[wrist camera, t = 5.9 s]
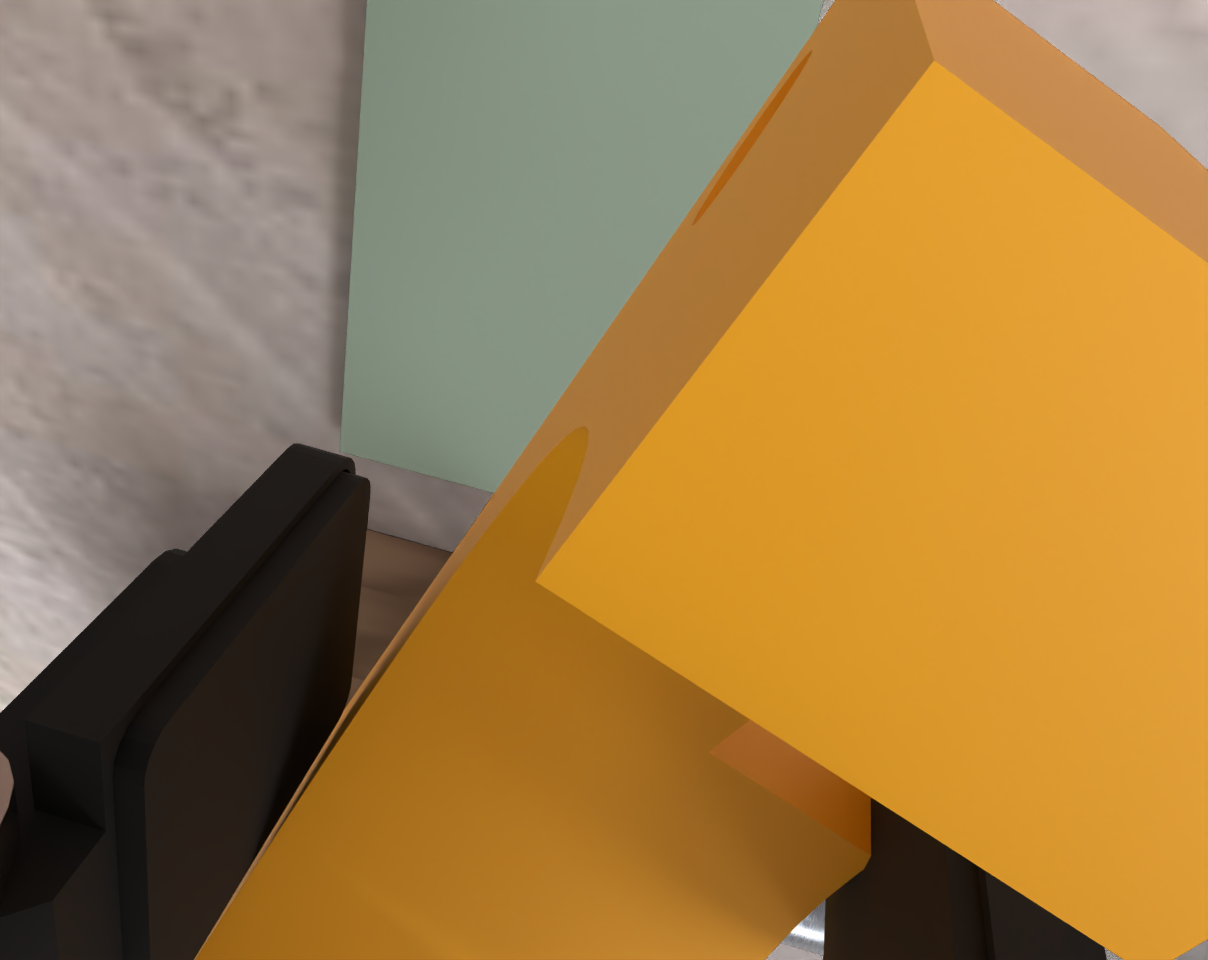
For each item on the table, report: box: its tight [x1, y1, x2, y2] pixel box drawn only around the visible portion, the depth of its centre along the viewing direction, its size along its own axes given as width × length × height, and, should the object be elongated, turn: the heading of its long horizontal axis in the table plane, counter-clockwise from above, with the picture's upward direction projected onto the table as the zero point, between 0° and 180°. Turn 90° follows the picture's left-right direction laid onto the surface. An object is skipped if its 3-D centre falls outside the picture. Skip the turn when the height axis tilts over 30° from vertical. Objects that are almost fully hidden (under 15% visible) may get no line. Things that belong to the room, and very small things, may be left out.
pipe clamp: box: [194, 0, 1208, 960], centre depth 9 cm, size 12×4×6 cm, turn 148°
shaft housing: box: [345, 530, 452, 708], centre depth 30 cm, size 10×9×7 cm
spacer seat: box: [340, 0, 824, 493], centre depth 24 cm, size 9×15×1 cm, turn 170°
